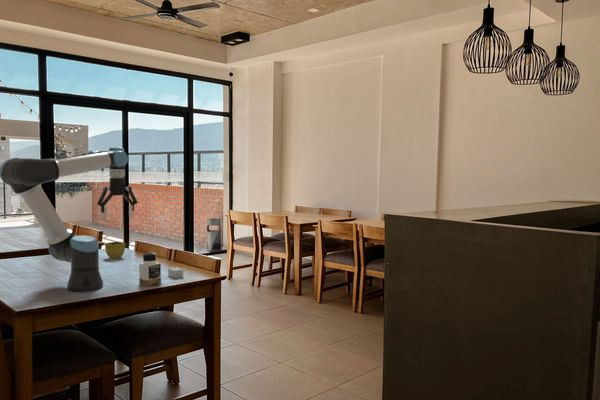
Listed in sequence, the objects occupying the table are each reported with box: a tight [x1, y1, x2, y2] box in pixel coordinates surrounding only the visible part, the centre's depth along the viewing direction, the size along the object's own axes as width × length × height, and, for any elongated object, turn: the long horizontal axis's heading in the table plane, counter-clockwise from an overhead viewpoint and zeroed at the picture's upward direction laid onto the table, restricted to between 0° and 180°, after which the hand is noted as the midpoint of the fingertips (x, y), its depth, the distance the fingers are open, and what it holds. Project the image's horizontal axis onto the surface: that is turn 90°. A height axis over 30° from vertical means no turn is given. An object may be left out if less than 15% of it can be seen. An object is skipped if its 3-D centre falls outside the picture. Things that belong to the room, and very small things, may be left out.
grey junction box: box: [167, 266, 184, 279], centre depth 244 cm, size 7×5×4 cm
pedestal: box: [138, 277, 162, 287], centre depth 229 cm, size 10×10×3 cm
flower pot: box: [104, 241, 126, 259], centre depth 289 cm, size 9×9×9 cm
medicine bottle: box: [138, 252, 162, 280], centre depth 229 cm, size 7×7×12 cm
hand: (117, 218), depth 249 cm, fingers open, 13 cm apart
